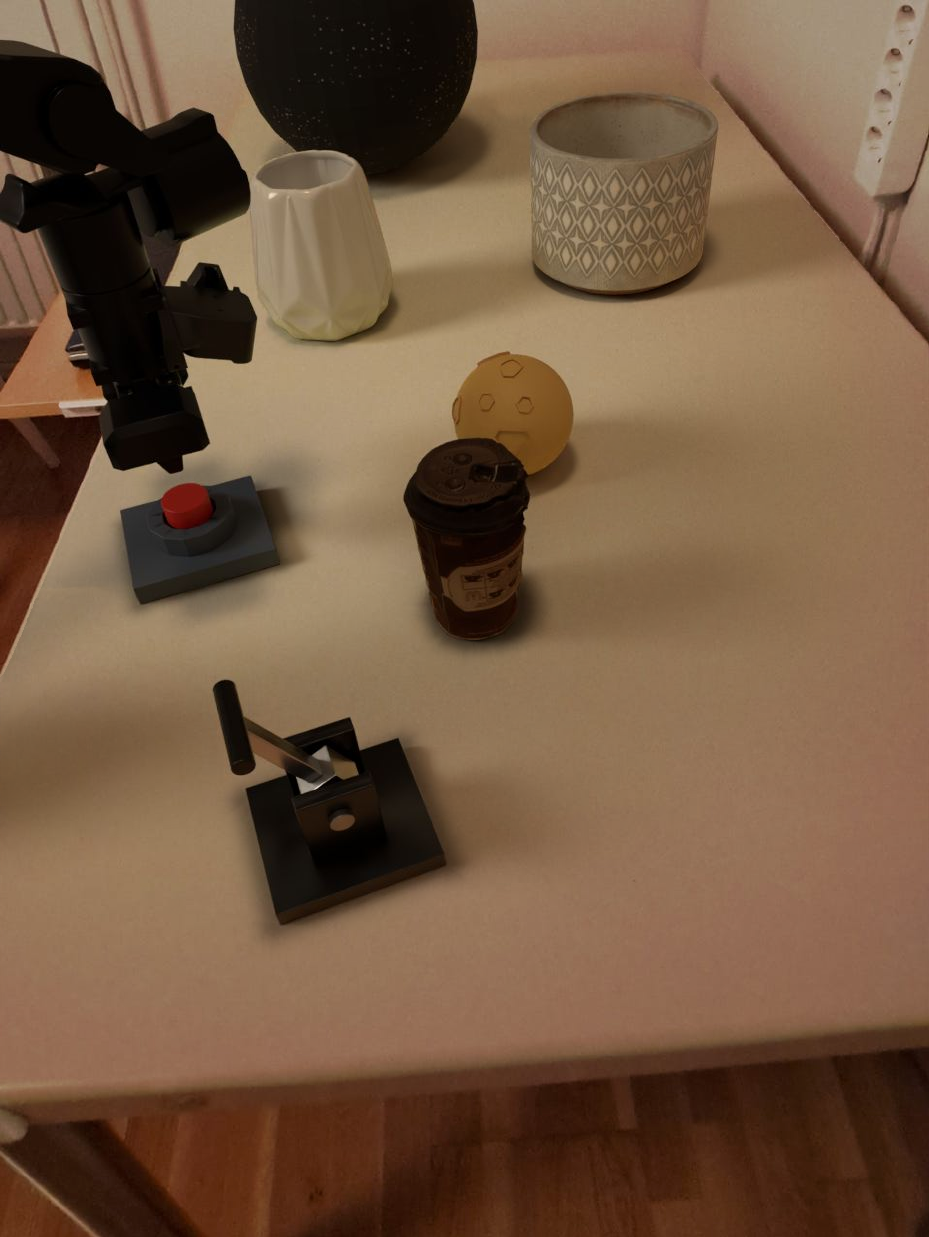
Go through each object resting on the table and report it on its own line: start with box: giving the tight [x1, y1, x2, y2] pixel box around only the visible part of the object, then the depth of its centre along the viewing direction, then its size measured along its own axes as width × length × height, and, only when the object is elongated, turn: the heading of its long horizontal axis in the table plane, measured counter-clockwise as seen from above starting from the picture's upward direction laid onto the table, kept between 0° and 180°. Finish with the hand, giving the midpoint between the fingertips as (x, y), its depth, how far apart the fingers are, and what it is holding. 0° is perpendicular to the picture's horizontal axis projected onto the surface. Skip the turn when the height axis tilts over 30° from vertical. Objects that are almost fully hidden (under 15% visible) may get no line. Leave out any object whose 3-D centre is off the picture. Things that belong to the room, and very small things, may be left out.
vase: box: [249, 150, 394, 342], centre depth 94 cm, size 14×14×15 cm
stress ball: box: [451, 350, 574, 476], centre depth 77 cm, size 10×10×10 cm
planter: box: [529, 91, 719, 296], centre depth 99 cm, size 19×19×14 cm
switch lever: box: [212, 679, 359, 794], centre depth 50 cm, size 10×6×2 cm
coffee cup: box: [402, 438, 531, 641], centre depth 64 cm, size 9×8×13 cm
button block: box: [119, 474, 281, 605], centre depth 75 cm, size 11×10×4 cm
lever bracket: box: [244, 716, 447, 926], centre depth 54 cm, size 10×9×7 cm
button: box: [161, 482, 213, 529], centre depth 73 cm, size 4×4×2 cm
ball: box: [233, 0, 479, 175], centre depth 117 cm, size 30×30×30 cm
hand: (176, 469), depth 71 cm, fingers closed
